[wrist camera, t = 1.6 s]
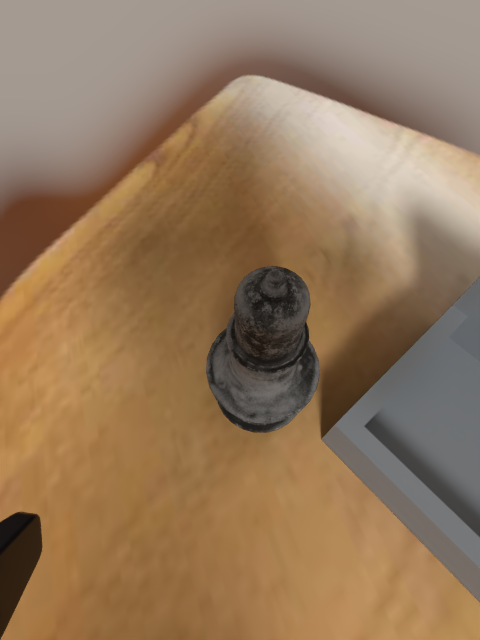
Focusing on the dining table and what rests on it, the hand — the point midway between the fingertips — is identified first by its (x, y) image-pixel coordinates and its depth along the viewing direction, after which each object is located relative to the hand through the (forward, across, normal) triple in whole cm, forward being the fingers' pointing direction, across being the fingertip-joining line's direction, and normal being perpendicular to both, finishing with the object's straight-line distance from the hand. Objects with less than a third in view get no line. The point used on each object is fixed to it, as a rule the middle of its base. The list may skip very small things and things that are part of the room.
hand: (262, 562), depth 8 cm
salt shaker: (+16, 0, +4) cm, 16 cm away
